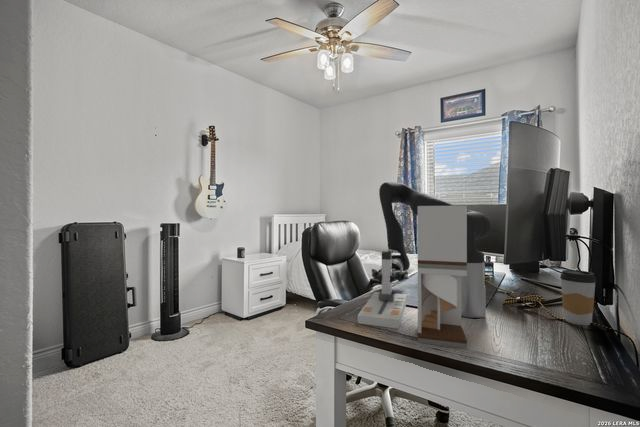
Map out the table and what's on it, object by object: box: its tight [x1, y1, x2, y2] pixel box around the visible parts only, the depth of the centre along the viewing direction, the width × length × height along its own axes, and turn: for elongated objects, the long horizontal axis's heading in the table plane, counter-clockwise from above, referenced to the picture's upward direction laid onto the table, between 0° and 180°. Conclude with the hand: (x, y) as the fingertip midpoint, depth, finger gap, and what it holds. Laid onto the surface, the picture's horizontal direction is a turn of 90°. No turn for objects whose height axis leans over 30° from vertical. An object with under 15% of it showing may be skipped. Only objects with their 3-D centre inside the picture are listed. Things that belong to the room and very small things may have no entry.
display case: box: [417, 205, 468, 349], centre depth 81 cm, size 11×11×35 cm
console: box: [357, 291, 408, 330], centre depth 102 cm, size 12×28×3 cm, turn 159°
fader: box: [379, 250, 396, 301], centre depth 105 cm, size 5×4×16 cm
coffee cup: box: [560, 269, 597, 326], centre depth 91 cm, size 8×8×15 cm
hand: (385, 279), depth 103 cm, fingers closed on fader, 3 cm apart
